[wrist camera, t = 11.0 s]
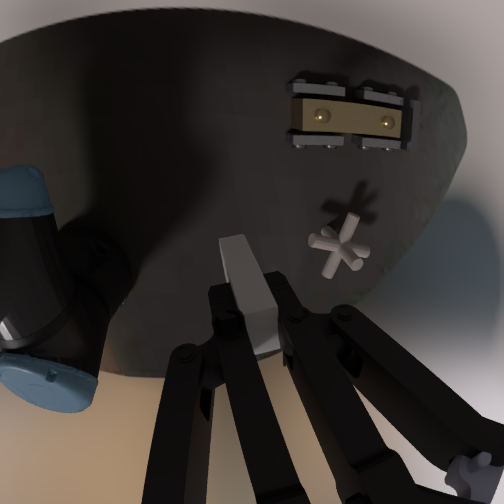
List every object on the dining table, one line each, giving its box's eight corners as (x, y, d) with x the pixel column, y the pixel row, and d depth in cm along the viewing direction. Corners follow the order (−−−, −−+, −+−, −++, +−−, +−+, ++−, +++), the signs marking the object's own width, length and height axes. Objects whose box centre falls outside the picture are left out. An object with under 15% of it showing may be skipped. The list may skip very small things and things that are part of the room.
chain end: (285, 145, 36) (293, 149, 33) (285, 79, 31) (293, 78, 28) (332, 145, 37) (343, 149, 34) (334, 83, 32) (345, 83, 30)
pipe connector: (310, 193, 40) (342, 222, 31) (362, 209, 43) (398, 238, 34) (287, 253, 44) (310, 292, 36) (338, 262, 47) (367, 298, 39)
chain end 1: (350, 146, 37) (367, 152, 33) (353, 86, 33) (370, 86, 29) (398, 149, 39) (416, 156, 35) (401, 95, 34) (420, 97, 30)
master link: (290, 127, 35) (304, 131, 30) (290, 98, 33) (304, 98, 28) (381, 132, 37) (402, 138, 33) (383, 107, 35) (404, 111, 31)
